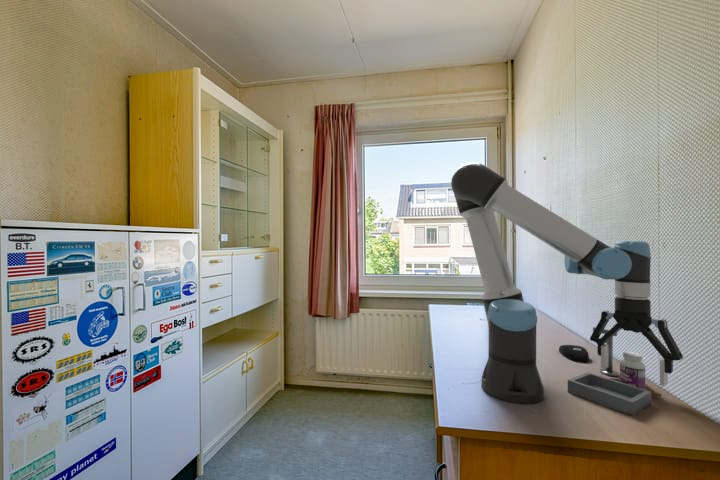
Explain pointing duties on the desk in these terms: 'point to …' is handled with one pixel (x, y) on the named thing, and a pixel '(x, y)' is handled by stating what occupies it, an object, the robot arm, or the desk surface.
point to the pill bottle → (632, 370)
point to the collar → (653, 392)
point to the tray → (610, 393)
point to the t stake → (609, 357)
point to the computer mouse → (574, 353)
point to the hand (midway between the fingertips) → (632, 375)
